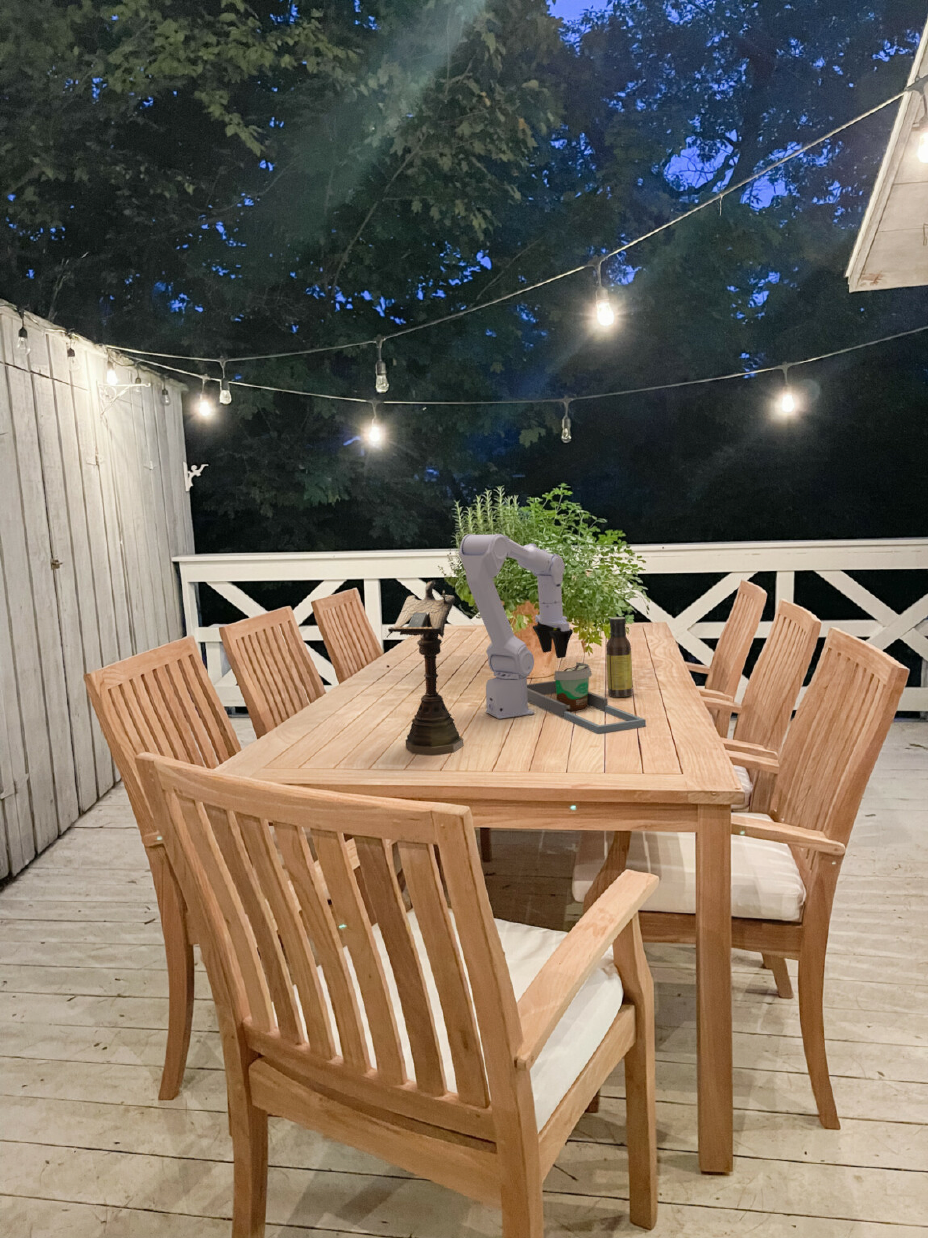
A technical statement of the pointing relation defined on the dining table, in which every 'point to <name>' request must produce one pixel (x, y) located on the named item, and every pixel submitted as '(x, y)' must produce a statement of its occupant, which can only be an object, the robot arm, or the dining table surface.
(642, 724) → the frame
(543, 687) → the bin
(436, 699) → the book lectern
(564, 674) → the food container
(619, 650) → the sauce bottle
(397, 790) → the dining table surface
